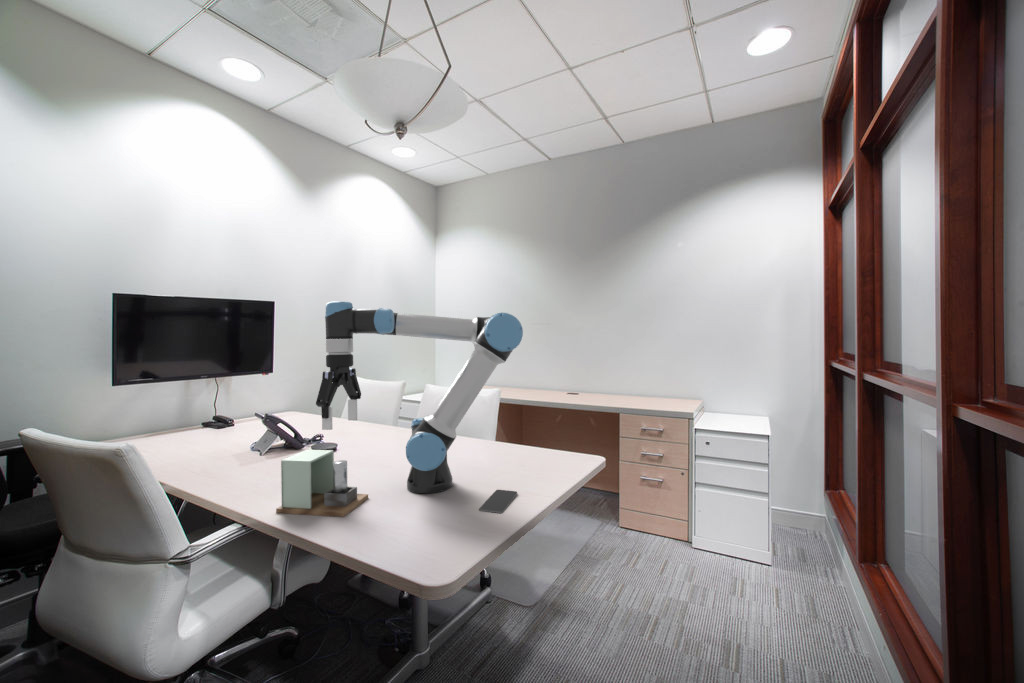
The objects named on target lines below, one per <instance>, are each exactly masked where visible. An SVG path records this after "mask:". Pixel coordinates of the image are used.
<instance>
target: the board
mask: <svg viewBox="0 0 1024 683" xmlns="http://www.w3.org/2000/svg"><path fill="white" fill-rule="evenodd" d="M368 499H369V494H368V493H358V487H357V486H348V492H346V493H345V494H338V493H333V489H331V490H330V491H328V492H327V493H325V494H320V493H311V508H310V509H306V508H289V507H282V505H279V506H278V507H276V509H275V511H276V512H275V513H277V514H289V515H306V516H307V515H308V516H323V517H324V516H325V517H326V516H327V517H342V518H344V517H345V516H347V515H348V514H349V513H351V512H352V511H353V510H355V509H356V508H357V507H359V506H360V505H362V504H363V503H364V502H365V501H367V500H368Z"/></svg>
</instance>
